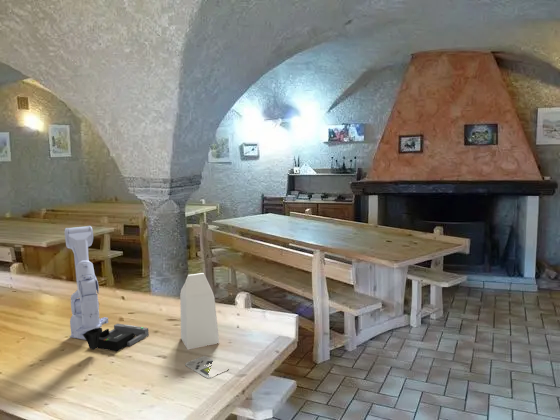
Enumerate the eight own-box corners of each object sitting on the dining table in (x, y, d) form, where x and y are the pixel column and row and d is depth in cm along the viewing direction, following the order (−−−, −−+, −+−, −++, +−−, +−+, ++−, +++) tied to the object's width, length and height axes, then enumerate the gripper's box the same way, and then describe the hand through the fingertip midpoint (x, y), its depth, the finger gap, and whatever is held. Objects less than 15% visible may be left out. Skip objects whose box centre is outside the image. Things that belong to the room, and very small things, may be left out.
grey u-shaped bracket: (97, 341, 180) (97, 332, 179) (117, 330, 190) (117, 322, 190) (129, 346, 174) (129, 337, 174) (148, 335, 184) (148, 327, 184)
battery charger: (134, 342, 179) (134, 332, 178) (117, 352, 170) (116, 342, 169) (108, 338, 183) (107, 328, 183) (90, 347, 175) (89, 337, 174)
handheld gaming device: (204, 354, 164) (230, 368, 153) (204, 356, 164) (230, 370, 153) (183, 363, 158) (208, 378, 147) (183, 365, 158) (208, 380, 147)
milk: (187, 349, 170) (183, 280, 166) (180, 338, 180) (176, 272, 177) (219, 343, 174) (215, 275, 171) (211, 332, 185) (207, 268, 182)
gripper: (83, 320, 158) (86, 359, 159) (113, 307, 171) (116, 342, 173) (67, 318, 160) (71, 356, 162) (98, 305, 174) (101, 340, 175)
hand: (93, 348), depth 168 cm, fingers closed
